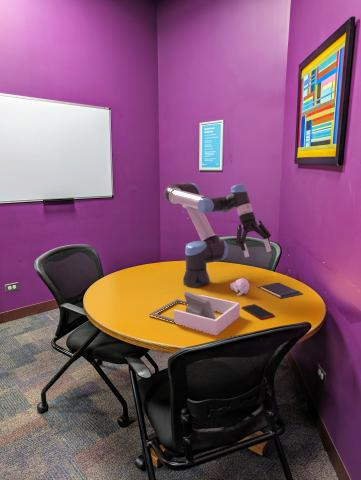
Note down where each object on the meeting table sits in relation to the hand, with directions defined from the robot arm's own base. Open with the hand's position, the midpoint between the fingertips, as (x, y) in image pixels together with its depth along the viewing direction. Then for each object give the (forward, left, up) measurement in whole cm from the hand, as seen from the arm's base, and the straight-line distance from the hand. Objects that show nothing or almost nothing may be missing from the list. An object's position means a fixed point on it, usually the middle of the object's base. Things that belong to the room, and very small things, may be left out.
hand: (258, 254), depth 170 cm
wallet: (+7, +11, -22) cm, 26 cm away
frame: (-23, -39, -21) cm, 50 cm away
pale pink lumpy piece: (-9, -3, -21) cm, 24 cm away
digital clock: (-10, -39, -21) cm, 46 cm away
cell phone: (+9, -21, -22) cm, 31 cm away
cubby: (-7, -39, -21) cm, 45 cm away
